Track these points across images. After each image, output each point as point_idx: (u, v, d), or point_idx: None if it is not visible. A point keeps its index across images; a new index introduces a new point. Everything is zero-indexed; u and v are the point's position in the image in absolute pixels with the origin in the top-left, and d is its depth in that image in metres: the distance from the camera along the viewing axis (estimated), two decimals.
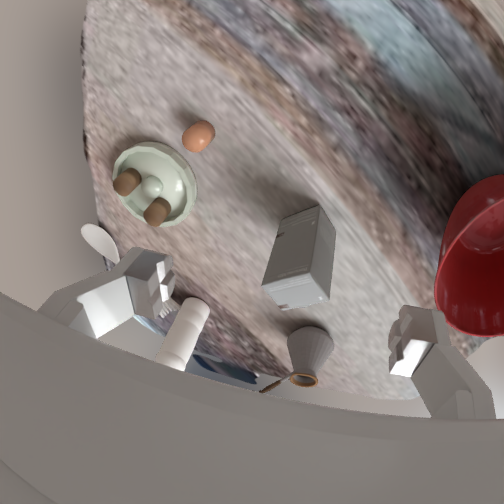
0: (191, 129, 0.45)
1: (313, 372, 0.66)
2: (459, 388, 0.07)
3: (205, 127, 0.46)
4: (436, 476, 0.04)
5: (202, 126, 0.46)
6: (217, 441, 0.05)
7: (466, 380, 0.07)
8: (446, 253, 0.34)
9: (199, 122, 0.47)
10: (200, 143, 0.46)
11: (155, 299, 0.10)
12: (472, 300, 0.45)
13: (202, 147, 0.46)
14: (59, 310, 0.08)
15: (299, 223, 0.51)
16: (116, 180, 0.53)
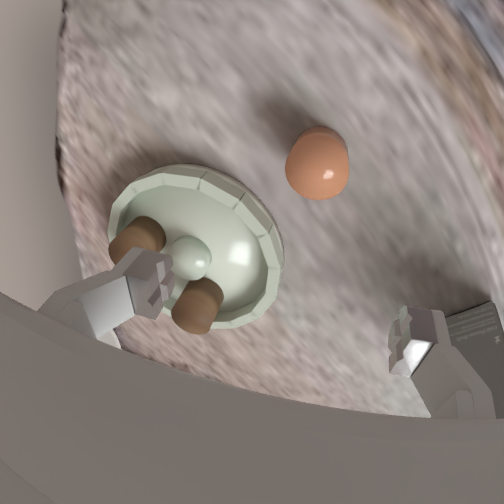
0: (316, 142, 0.18)
1: None
2: (459, 388, 0.07)
3: (339, 142, 0.19)
4: (436, 476, 0.04)
5: (334, 139, 0.19)
6: (217, 441, 0.05)
7: (466, 380, 0.07)
8: None
9: (320, 129, 0.20)
10: (333, 180, 0.19)
11: (155, 299, 0.10)
12: None
13: (336, 190, 0.20)
14: (59, 310, 0.08)
15: (471, 338, 0.23)
16: (115, 243, 0.26)
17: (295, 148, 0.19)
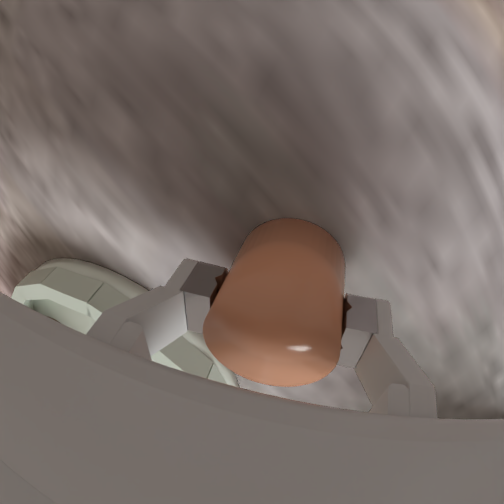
0: (265, 301, 0.08)
1: None
2: (398, 382, 0.07)
3: (326, 272, 0.09)
4: (436, 476, 0.04)
5: (315, 270, 0.09)
6: (216, 441, 0.05)
7: (404, 374, 0.07)
8: None
9: (287, 233, 0.10)
10: (304, 364, 0.09)
11: None
12: None
13: (310, 377, 0.09)
14: (114, 333, 0.07)
15: None
16: None
17: (218, 306, 0.08)
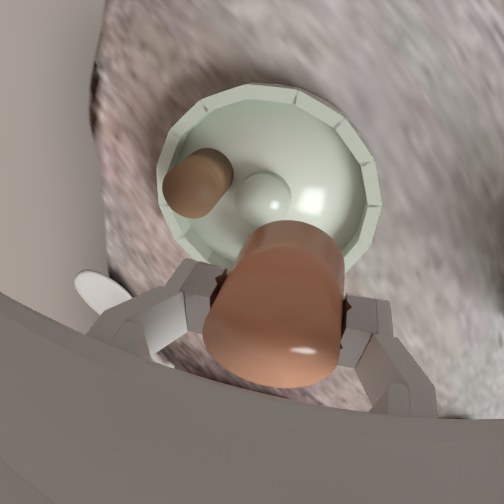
0: (264, 303, 0.08)
1: None
2: (398, 382, 0.07)
3: (326, 274, 0.09)
4: (436, 476, 0.04)
5: (314, 272, 0.09)
6: (216, 441, 0.05)
7: (404, 374, 0.07)
8: None
9: (287, 235, 0.10)
10: (304, 365, 0.09)
11: None
12: None
13: (309, 379, 0.09)
14: (114, 333, 0.07)
15: None
16: (175, 173, 0.21)
17: (218, 308, 0.08)
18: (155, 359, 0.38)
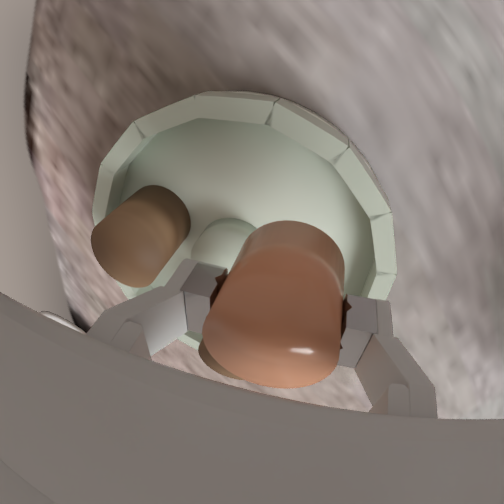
0: (264, 304, 0.08)
1: None
2: (398, 382, 0.07)
3: (326, 274, 0.09)
4: (436, 476, 0.04)
5: (314, 273, 0.09)
6: (217, 441, 0.05)
7: (404, 374, 0.07)
8: None
9: (287, 236, 0.10)
10: (303, 366, 0.09)
11: None
12: None
13: (309, 379, 0.09)
14: (114, 333, 0.07)
15: None
16: (103, 230, 0.14)
17: (218, 308, 0.08)
18: None
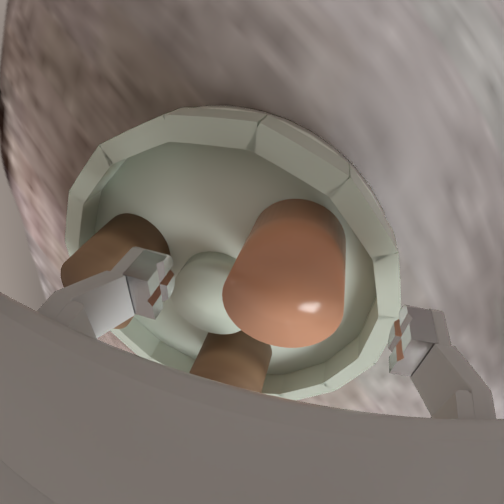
0: (279, 261, 0.09)
1: None
2: (459, 388, 0.07)
3: (330, 241, 0.11)
4: (436, 476, 0.04)
5: (320, 239, 0.10)
6: (217, 441, 0.05)
7: (466, 380, 0.07)
8: None
9: (295, 210, 0.11)
10: (312, 323, 0.10)
11: (155, 299, 0.10)
12: None
13: (317, 337, 0.11)
14: (59, 310, 0.08)
15: None
16: (71, 268, 0.12)
17: (238, 268, 0.10)
18: None
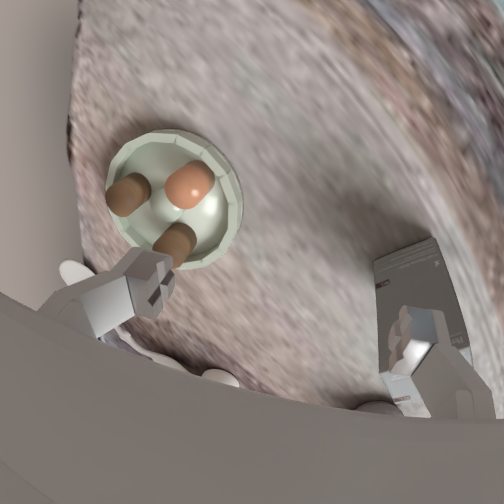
0: (179, 173, 0.30)
1: None
2: (459, 388, 0.07)
3: (200, 170, 0.31)
4: (436, 476, 0.04)
5: (195, 169, 0.31)
6: (216, 441, 0.05)
7: (466, 380, 0.07)
8: None
9: (191, 163, 0.32)
10: (192, 195, 0.31)
11: (155, 299, 0.10)
12: None
13: (195, 202, 0.31)
14: (59, 310, 0.08)
15: (412, 265, 0.30)
16: (111, 189, 0.33)
17: (168, 177, 0.30)
18: (116, 329, 0.50)
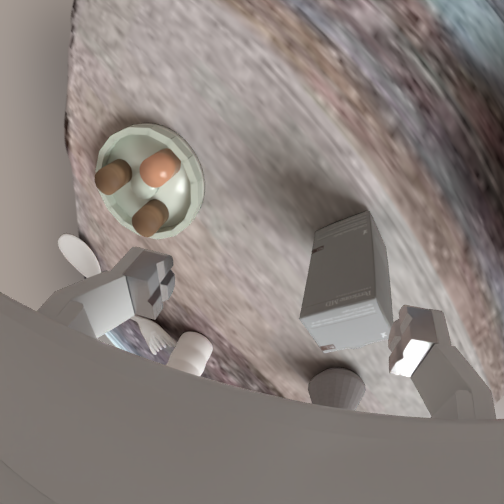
0: (149, 159, 0.36)
1: None
2: (459, 388, 0.07)
3: (167, 156, 0.38)
4: (436, 476, 0.04)
5: (163, 155, 0.38)
6: (216, 441, 0.05)
7: (466, 380, 0.07)
8: None
9: (161, 150, 0.39)
10: (160, 176, 0.38)
11: (155, 299, 0.10)
12: None
13: (162, 181, 0.38)
14: (59, 310, 0.08)
15: (345, 233, 0.37)
16: (99, 172, 0.39)
17: (142, 162, 0.37)
18: None
